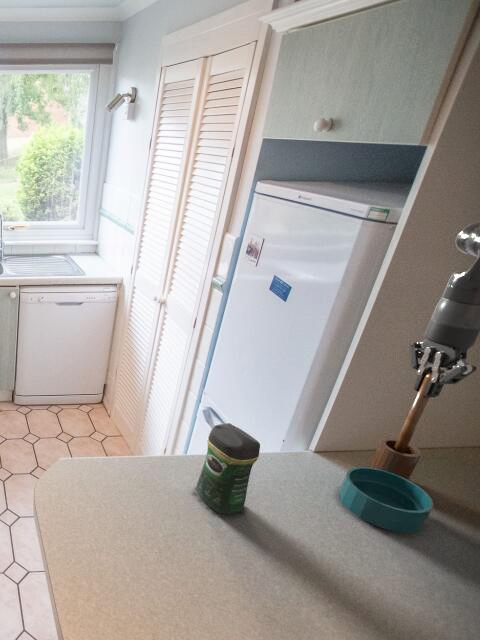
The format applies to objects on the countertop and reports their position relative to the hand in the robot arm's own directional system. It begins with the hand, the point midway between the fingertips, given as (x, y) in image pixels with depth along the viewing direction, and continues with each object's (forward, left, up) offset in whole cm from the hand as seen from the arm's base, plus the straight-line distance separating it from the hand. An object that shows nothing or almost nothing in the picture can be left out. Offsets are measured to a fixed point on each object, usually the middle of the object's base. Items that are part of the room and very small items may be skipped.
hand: (424, 393), depth 100 cm
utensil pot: (0, 0, -23) cm, 23 cm away
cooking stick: (0, 0, -19) cm, 19 cm away
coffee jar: (+44, +10, -24) cm, 51 cm away
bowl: (+10, +11, -23) cm, 28 cm away
